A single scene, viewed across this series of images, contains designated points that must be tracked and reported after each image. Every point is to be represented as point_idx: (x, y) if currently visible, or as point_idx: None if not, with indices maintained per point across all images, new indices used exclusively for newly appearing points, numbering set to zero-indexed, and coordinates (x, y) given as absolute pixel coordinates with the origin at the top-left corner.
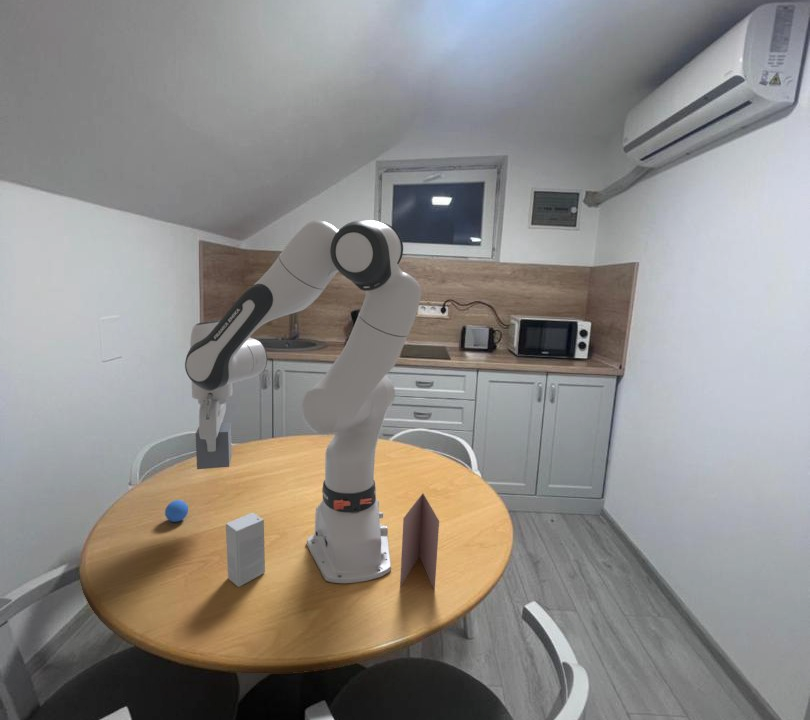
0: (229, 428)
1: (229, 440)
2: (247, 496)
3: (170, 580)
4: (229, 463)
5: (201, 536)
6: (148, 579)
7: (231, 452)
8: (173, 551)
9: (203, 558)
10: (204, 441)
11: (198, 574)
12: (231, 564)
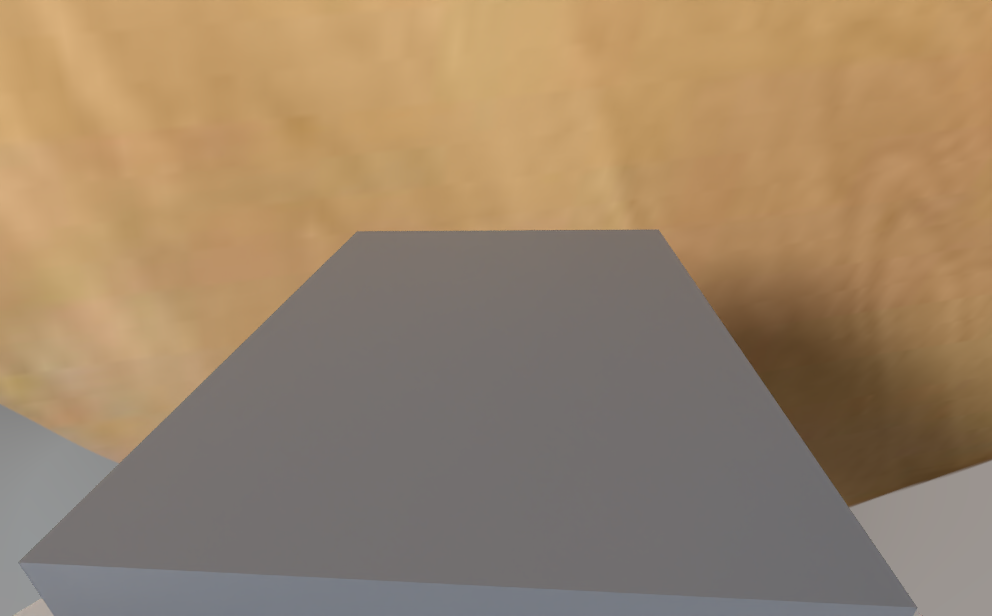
0: (452, 543)
1: (546, 364)
2: (327, 70)
3: (957, 315)
4: (615, 235)
5: (684, 252)
6: (906, 379)
7: (350, 244)
8: (758, 335)
9: (868, 222)
10: None
11: (979, 225)
12: None
